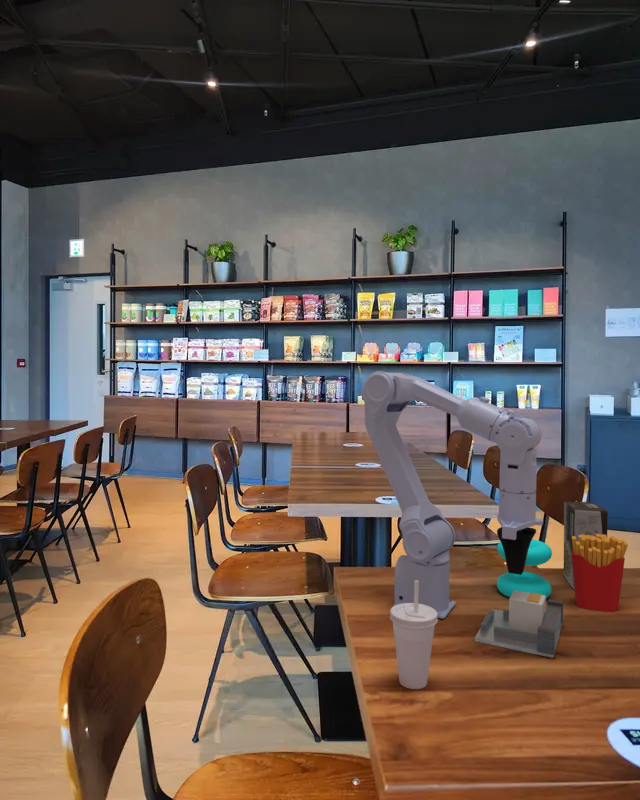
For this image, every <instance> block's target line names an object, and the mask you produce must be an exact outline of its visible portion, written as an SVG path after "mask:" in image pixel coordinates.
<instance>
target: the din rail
mask: <svg viewBox="0 0 640 800" xmlns="http://www.w3.org/2000/svg"><path fill="white" fill-rule="evenodd" d="M564 602H565V601H561V600H554V599H550V598H548V599H547V607H546V613H545V616H544V619H543V622H542V625H541V627H538V629H537V634H532V633H527V632H522V631H517V630H512V629H509V609H503V610H498V609H495V608H492V609H489V610H488V612H487V613H486V614H485V616H484V618H483V620H482V621H481V623H480V626H479V627H480V628H479V630H478V632H477V633H476V635H474V642H477V643H481V644H486V645H491V646H495V647H501V648H505V649H510V650H514V651H518V652H523V653H528V654H532V655H537V656H542V657H545V658H551V659H554V657H555V655H556V650H557V649H556V648H557V645H558V641H559V637H560V633H561V630H562V625H563V624H564Z"/></svg>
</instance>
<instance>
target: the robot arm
mask: <svg viewBox="0 0 640 800" xmlns="http://www.w3.org/2000/svg"><path fill="white" fill-rule="evenodd" d="M360 395H361V397H362V399H363V402H364V426H365V429H366V432H367V433H368V436H369V438H370V441H371V443H372V447H373V448H374V451H375V453H376V454H377V457H378V459H379V462H380V464H381V467H382V468H383V471H384V474H385V476H386V478H387V481H388V483H389V485H390V488H391V489H392V493H393V494H394V497H395V499H396V502H397V504H398V505H399V508H400V510H401V517H400V521H399V524H398V525H399V526H398V527H399V529H400V531H401V535H402V536H401V537H402V547H403V550H404V552H405V554H406V555H405V554H402V555H399V557H398V558H397V560H396V563H395V568H394V596H393V597H394V598H393V599H394V603H393V605H392V607H394V606H395V605H398V604H403V603H414V581H415V580H418V581H419V596H418V604H423V605H427V606H429V607H431V608H433V609H434V610H435V611H436V612H437V619H445V618H447V616H448V615H449V613H450V612H451V610H452V609H454V607H455V606H456V603H457V602H456V600H450V549H451V548H452V547H453V546H454V545H455V542H456V532H455V531H456V530H455V529H454V527H453V525H452V524H451V523H450V522H449V521H448V520H447V519H446V518H445V517H444V515H443V513H442V511H441V509H440V508H438V507H437V506H436V505H434V504H433V503H432V502H431V501H430V499H429V497H428V495H427V493H426V490H425V488H424V486H423V484H422V481H421V479H420V477H419V475H418V473H417V470H416V468H415V466H414V464H413V461H412V459H411V456H410V454H409V452H408V450H407V448H406V446H405V443H404V441H403V439H402V437H401V434H400V431H399V430H398V427H397V423H398V421H399V418H400V416H401V414H402V413H403V412H404V410H405V409H406V408H407V407H408V405H409V404H410V403H411V402H412V401H419V402H420V403H423V404H425V405H428V406H430V407H433V408H435V409H438V410H439V411H443V412H445V413H447V414H449V415H452V416H454V417H456V419H457V421H458V424H459V427H461V428H463V429H465V430H466V431H469V432H471V433H473V434H475V435H477V436H479V437H481V438H483V439H485V440H488V441H489V442H492V443H495V444H496V446H497V447H498V448H499V450H500V454H499V455H500V456H499V457H500V460H499V487H498V489H499V490H498V491H499V494H498V495H499V496H498V514H497V519H496V520H497V522H498V523H499V525H500V526H501V527H499V528H497V530H496V534H497V538H498V540H499V542H500V541H501V543H502V546H503V549H504V553H505V558H506V560H505V562H506V568H507V572H509V573H513V574H519V575H522V573H523V571H525V570H524V569H525V566H526V565H525V563H526V558H527V553H528V549H529V546H530V543H531V541H532V539H533V538H534V536H535V534H536V533H537V529H536V528H533V526H543V525H544V519H543V518H539V517H536V515H537V514H536V512H537V511H536V510H537V508H536V507H537V475H538V474H537V471H538V470H537V467H538V464H537V450H538V449H537V446H538V445H539V444H540V442H541V440H542V430H541V427H540V425H539V424H538V423H537V422H536V421H535V420H533V419H532V418H530V416H529V415H520V416H516V411H515V410H512V409H507V410H505V409H503V408H501V407H499V406H497V405H495V404H492V403H490V400H491V399H490V398H488V397H485V396H480V397H475V396H474V397H470V398H468V399H466V400H465V399H463V398H461V397H459V396H457V395H456V394H454V393H451V392H450V391H447V390H446V389H443V388H441V387H439V386H438V385H436V384H433V383H431V382H429V381H427V380H425V379H424V378H422V377H419V376H415V375H410V374H409V373H406V372H401V371H400V372H385V371H380V370H378V371H374V372H372V373H371V374H369V375H368V376H367V378H366V379H365V382H364V385H363V386H362V389H361V391H360Z"/></svg>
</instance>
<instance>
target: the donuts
mask: <svg viewBox="0 0 640 800" xmlns="http://www.w3.org/2000/svg"><path fill="white" fill-rule="evenodd" d="M496 549H497V552H498V555H499V556H500V557H501V558H502V559H504V560H505V561H506V558H505V553H504V549H503V546H502V543H501V541H500V540H499V542H498V544H497V546H496ZM552 556H553V551H552V548H551V547H550V545H548V544H547V543H545V542H543V541H541V540H537V539H532V541H531V543H530V546H529V549H528V553H527V558H526V563H525V566H527V567H528V566H529V567H530V566H539V565H540V566H541V565H543V564H546V563H547V562H549V561H550V560H551V558H552ZM496 587H497V590H498V592H500V593H501V594H502V595H504V596H506V597H507V598H510V597H511V595H512V593H513V591H514V590H515V591H521V592H527V593H536V594H542V595H545V596H546V599H547V598H548V597H550V595H551V593H552V585H551V583H550V582H549V581H548V580H547V579H546V578H545V577H543V576H542V575H539V574H537V573H534V572H530V571H525V570H523V573H522V575H519V574H513V573H509V572H508V571H507V572H504V573H502V574H501V575H500V576H499V577H498V578H497V581H496Z"/></svg>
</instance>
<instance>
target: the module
mask: <svg viewBox="0 0 640 800" xmlns="http://www.w3.org/2000/svg"><path fill="white" fill-rule="evenodd" d="M546 600H547V598H546V596H545V595H542V594H536V593H527V592H521V591H515V590H514V591H513V593H512V595H511V597H509V599H508V610H509V629H512V630H517V631H522V632H527V633H532V634H537V629H538V627H541V625H542V622H543V619H544V616H545V613H546V610H547V601H546Z"/></svg>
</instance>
